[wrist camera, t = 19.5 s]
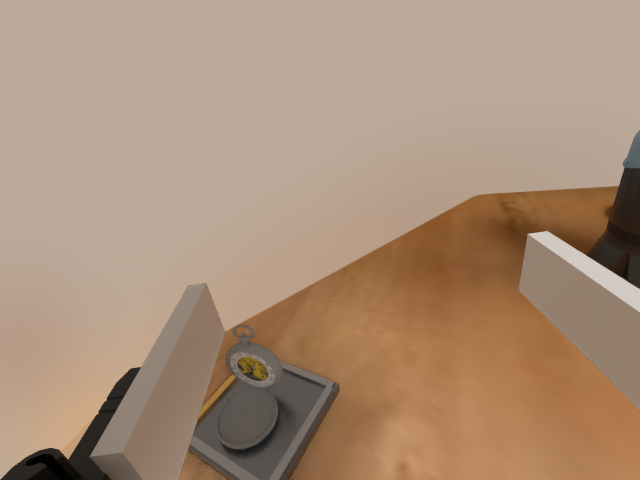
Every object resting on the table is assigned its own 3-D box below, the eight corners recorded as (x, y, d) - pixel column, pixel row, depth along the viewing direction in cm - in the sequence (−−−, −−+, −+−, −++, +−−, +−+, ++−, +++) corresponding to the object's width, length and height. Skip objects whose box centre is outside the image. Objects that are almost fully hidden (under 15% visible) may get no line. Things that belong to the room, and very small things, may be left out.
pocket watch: (218, 463, 30) (183, 395, 26) (217, 393, 38) (190, 330, 33) (299, 431, 32) (280, 361, 28) (283, 369, 40) (265, 306, 35)
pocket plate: (256, 356, 44) (254, 348, 43) (339, 390, 37) (338, 381, 36) (177, 443, 34) (173, 435, 33) (271, 510, 27) (267, 502, 27)
